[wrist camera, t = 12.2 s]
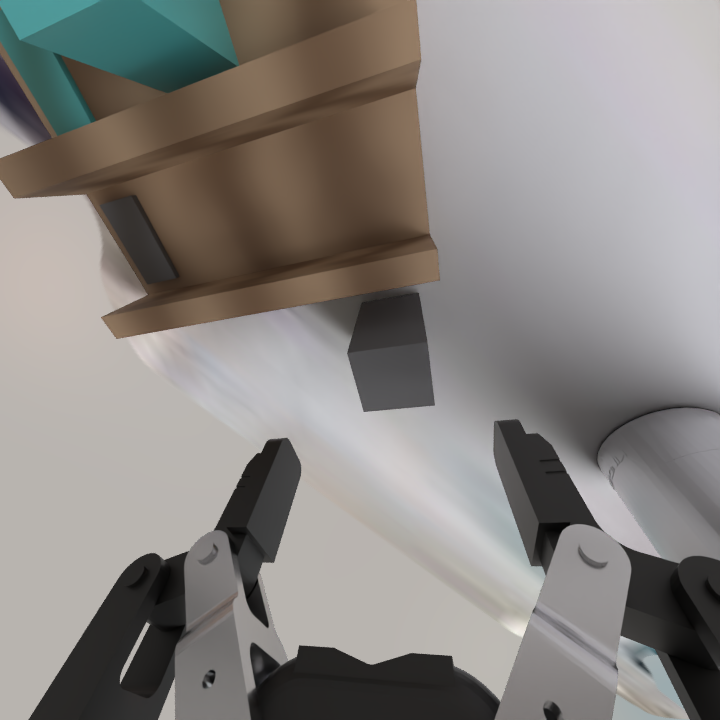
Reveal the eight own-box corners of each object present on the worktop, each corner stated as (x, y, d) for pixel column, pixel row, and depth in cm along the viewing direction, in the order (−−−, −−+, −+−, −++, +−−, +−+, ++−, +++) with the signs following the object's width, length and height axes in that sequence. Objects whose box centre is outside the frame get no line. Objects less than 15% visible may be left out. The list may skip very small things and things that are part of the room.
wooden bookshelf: (378, -276, 10) (363, -621, 6) (430, 256, 18) (439, 280, 14) (-32, -30, 14) (-217, -118, 10) (168, 308, 23) (116, 338, 18)
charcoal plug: (418, 292, 20) (427, 341, 14) (425, 343, 22) (434, 405, 16) (361, 302, 21) (347, 353, 15) (372, 350, 23) (363, 411, 17)
